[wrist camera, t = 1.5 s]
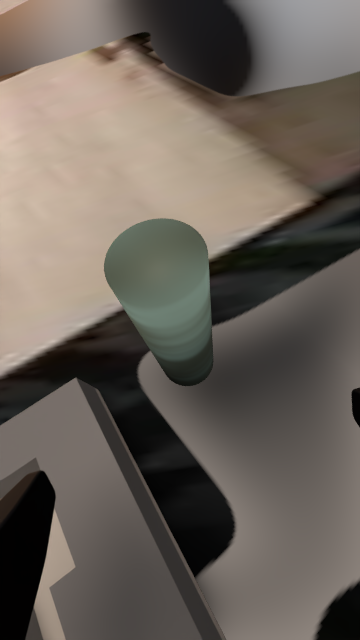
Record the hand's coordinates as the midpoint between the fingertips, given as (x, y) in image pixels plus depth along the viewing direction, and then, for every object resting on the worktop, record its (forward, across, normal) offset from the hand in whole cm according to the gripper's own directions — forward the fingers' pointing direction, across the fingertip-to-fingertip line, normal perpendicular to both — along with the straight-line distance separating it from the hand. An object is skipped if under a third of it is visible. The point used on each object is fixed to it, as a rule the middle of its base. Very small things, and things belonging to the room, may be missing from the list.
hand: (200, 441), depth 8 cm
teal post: (+14, 0, +4) cm, 14 cm away
